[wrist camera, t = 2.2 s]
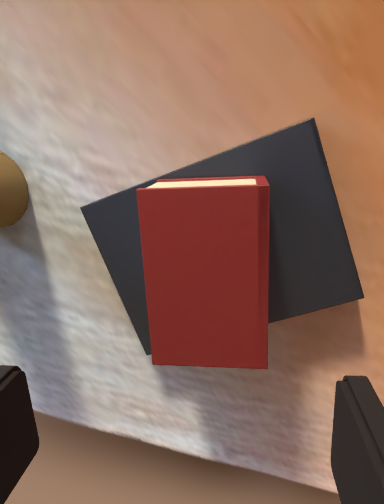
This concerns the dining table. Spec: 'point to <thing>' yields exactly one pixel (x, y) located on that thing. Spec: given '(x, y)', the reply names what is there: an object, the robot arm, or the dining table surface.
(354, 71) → the dining table surface
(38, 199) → the dining table surface
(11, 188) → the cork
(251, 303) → the pocket dictionary
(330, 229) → the slate hardcover
